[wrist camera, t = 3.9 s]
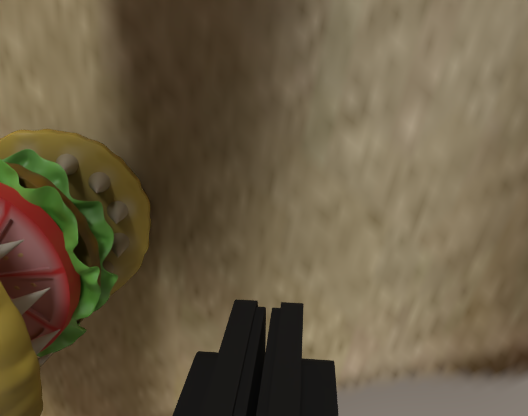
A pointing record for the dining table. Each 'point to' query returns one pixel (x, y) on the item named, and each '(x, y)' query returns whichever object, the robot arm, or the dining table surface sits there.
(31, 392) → the hamburger
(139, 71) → the dining table surface
